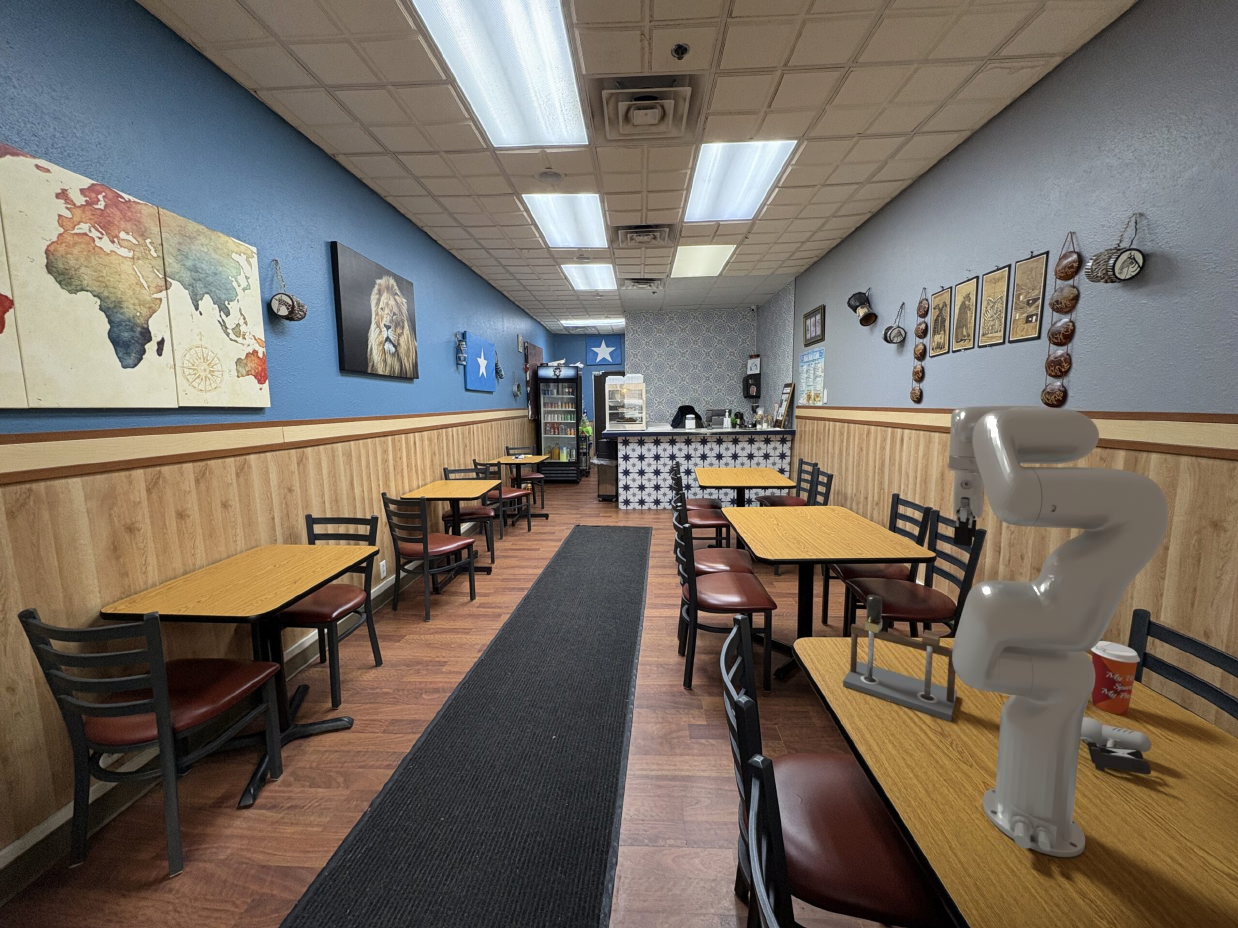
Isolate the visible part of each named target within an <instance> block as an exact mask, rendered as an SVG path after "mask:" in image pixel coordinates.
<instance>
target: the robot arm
mask: <svg viewBox="0 0 1238 928" xmlns="http://www.w3.org/2000/svg"><path fill="white" fill-rule="evenodd" d="M949 436H950V437H949V448H948V450H949V452H948V468H947V469H948V471H951V472H954V474H953V475H954V477H953V495H952V496H953V497H952V498H953V502H952V503H953V515H954V516H956V519H955V525H954V533H953V544H954V545H956V546H957V545H958V546H962V547H963V546H964V547H972V545H973V538H975V537H976V533H977V522H978V521H977V519H980V518H982V516H983V514H984V503H985V495H986V497H987V501H988V504H989V506H990V508H991V511H992V512H993V515H995V517H996V518H997V519H998V520H999V521H1001V522H1003V523H1006V524H1009V525H1012V526H1017V527H1018V526H1019V527H1031V528H1032V527H1033V528H1035V527H1036V528H1053V529H1054V528H1057V529H1077V530H1078V529H1081V530H1082V529H1083V531H1082V532H1081V533H1080V534H1078V535H1076V536H1074V537H1073V538H1071V539H1068V540H1067V541H1065V542H1064V543H1062V544H1061V545H1059V546H1058V547H1057V548H1056V549H1054V550H1053V551H1052V552H1051V553H1050V554H1049V555H1048V556H1047V557H1046V559H1045V560H1044V562H1043V564H1042V568H1041V571H1040V573H1039V575H1038V577H1037V578H1036V579H1034V580H1030V581H1015V580H1004V579H1003V580H1001V579H1000V580H999V579H993V580H991V579H990V580H983V581H980V582H978V583H976V584H975V585H973V587H971V589H970V590H969V592H968V594H967V596H966V598H965V602H964V606H963V609H962V612H961V616H960V619H959V623H958V626H957V630H956V632H955V636H954V640H953V644H952V648H953V651H952V661H953V667H954V670H955V672H956V673H955V675H956V676H957V677H958V679H959V680H960V681H961V682H962V683H963V684H964V685H966V686H968V687H970V688H972V689H974V690H978V691H983V692H988V693H997V694H1005V695H1010V696H1008V698H1007V699H1006V701H1005V702H1004V704H1003V707H1002V709H1001V714H1000V720H999V721H1000V723H999V734H998V735H999V736H998V738H999V739H998V749H997V762H996V763H997V764H996V765H997V766H996V778H995V787H993V788H990V789H988V790H987V791H985V793H984V795H983V799H982V805H983V806H982V807H983V810H984V813H985V814H986V816H987V818H989V820H990V821H991V822H992V824H994V825H995V827H997V828H998V829H999V830H1000V831H1001V832H1002V833H1004V834H1006V836H1008V837H1010V838H1011V839H1012V840H1013V841H1014V842H1015V844H1016V845H1017V846H1018V847H1020V848H1021V849H1026V850H1028V849H1031V850H1032V851H1033V850H1034V851H1036V852H1039V853H1041V854H1045V855H1047V856H1048V855H1049V856H1053V857H1059V858H1071V857H1077V856H1079V855H1081V854H1082V853H1083V852H1084V851H1085V847H1086V837H1085V833H1084V832H1083V830H1082V828H1081V827H1080V825H1079V824H1078V823H1077V822H1076V820H1074V819H1073V818H1074V808H1075V799H1076V797H1075V796H1076V788H1077V787H1076V785H1077V778H1078V777H1077V775H1078V765H1079V753H1080V752H1079V751H1080V744H1081V740H1080V736H1081V728H1082V722H1083V717H1085V712H1086V709H1087V707H1088V703H1089V701H1090V698H1091V697H1092V691H1093V688H1094V684H1095V669H1094V665H1093V663H1092V658H1091V657H1090V656H1089V655H1088V653H1087V651H1090V650H1091V649H1092V648H1093V647H1095V646H1096V645H1097V643H1098V642H1099V641H1101V639H1102V638H1103V636H1104V635H1105V633H1106V631H1107V629H1108V628H1109V625H1110V623H1111V621H1112V619H1113V617H1114V616H1115V613H1116V611H1117V609H1118V607H1119V605H1120V603H1121V602H1122V599H1123V598H1124V594H1125V593H1126V590H1127V589H1128V588H1129V586H1130V584H1132V582H1133V581H1134V579H1135V578H1136V577H1137V576H1138V574H1139V573H1140V572H1141V571H1142V570H1143V569H1144V568H1145V567H1146V566H1147V564H1149V562H1150V561H1151V560H1152V558H1153V557H1155V555H1156V553H1157V552H1158V550H1159V548H1160V547H1161V545H1162V544H1163V541H1164V539H1165V537H1166V534H1167V529H1168V526H1169V525H1168V524H1169V507H1168V502H1167V498H1166V496H1165V493H1164V491H1163V490H1162V487H1160V486H1159V484H1158V483H1157V482H1155V481H1154V480H1153V479H1152V478H1150V477H1148V476H1146V475H1144V474H1141V473H1138V472H1134V471H1130V470H1124V469H1119V468H1118V469H1117V468H1109V467H1108V468H1106V467H1086V466H1085V467H1082V466H1081V467H1077V466H1073V467H1072V466H1071V467H1069V466H1067V467H1066V466H1061V467H1060V466H1058V467H1057V466H1056V467H1055V466H1050V467H1049V466H1023V465H1025V464H1026V465H1062V464H1068V463H1073V462H1075V461H1079V460H1081V459H1083V458H1086V457H1087V456H1088V455H1089V454H1091V453H1092V452H1093V451H1094V450H1095V449H1096V447H1097V445H1098V442H1099V441H1100V432H1099V429H1098V427H1097V424H1096V423H1095V422H1094V421H1093V420H1092V419H1091V418H1090V417H1088V416H1086V415H1085V414H1084V413H1081V412H1080V411H1079V412H1078V411H1075V410H1073V409H1067V408H1058V407H1050V406H1039V405H1038V406H1037V405H988V406H986V405H985V406H967V407H961V408H956V409H954V410H953V411H952V412H951V416H950V435H949ZM1022 464H1023V465H1022ZM985 493H986V494H985ZM976 518H977V519H976Z"/></svg>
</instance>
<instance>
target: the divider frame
mask: <svg viewBox="0 0 1238 928" xmlns="http://www.w3.org/2000/svg"><path fill="white" fill-rule="evenodd" d="M850 633H851V636H850V637H851V639H850V641H851V642H850V669H849V671H851V672H853V673H856V668H857V661H858V660H857V659H858V640H859V639H858V637H859V636H858V635H860V636H864V637H868V638H869V631H867V630H865V625H864V626H863V625H859V624H854V623H852V624H851V625H850ZM874 639H877V640H880V641H883V642H884V641H885V642H888V643H891V644H892V643H893V644H896V645H899V646H903V647H908V648H911V649H916V650H919V651H923V652H925V653H926V654H925V655H926V656H925V673H924V681H925V688H924V693H925V695H926V696H929V695H930V693H931V683H932V675H933V674H932V671H933V655H938V656H942V657H945V658H948V664H947V681H946V682H947V683H946V687H947V697H946V700H947V701H948V702H951V703H953V702H954V690H956V688H955V687H956V672H955V670H954V667H953V661H952V651H953V647H949V646H944V645H940V643H941V632H936V631H932V630H927V629H925V630H924V632H923V634H922V635H921V640H920V639H916V638H912V637H907V636H904V635H899V634H896V633H891V632H887V631H883V630H880V632H879V633H875V632H874Z"/></svg>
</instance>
